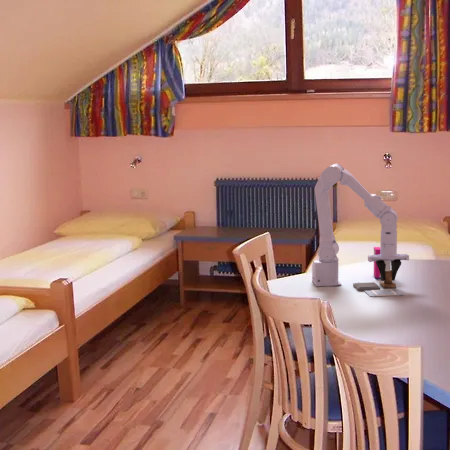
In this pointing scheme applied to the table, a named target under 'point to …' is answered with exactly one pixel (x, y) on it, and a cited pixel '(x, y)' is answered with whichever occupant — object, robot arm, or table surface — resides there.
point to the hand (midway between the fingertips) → (388, 280)
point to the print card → (384, 293)
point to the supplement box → (376, 269)
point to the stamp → (388, 280)
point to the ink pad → (366, 286)
